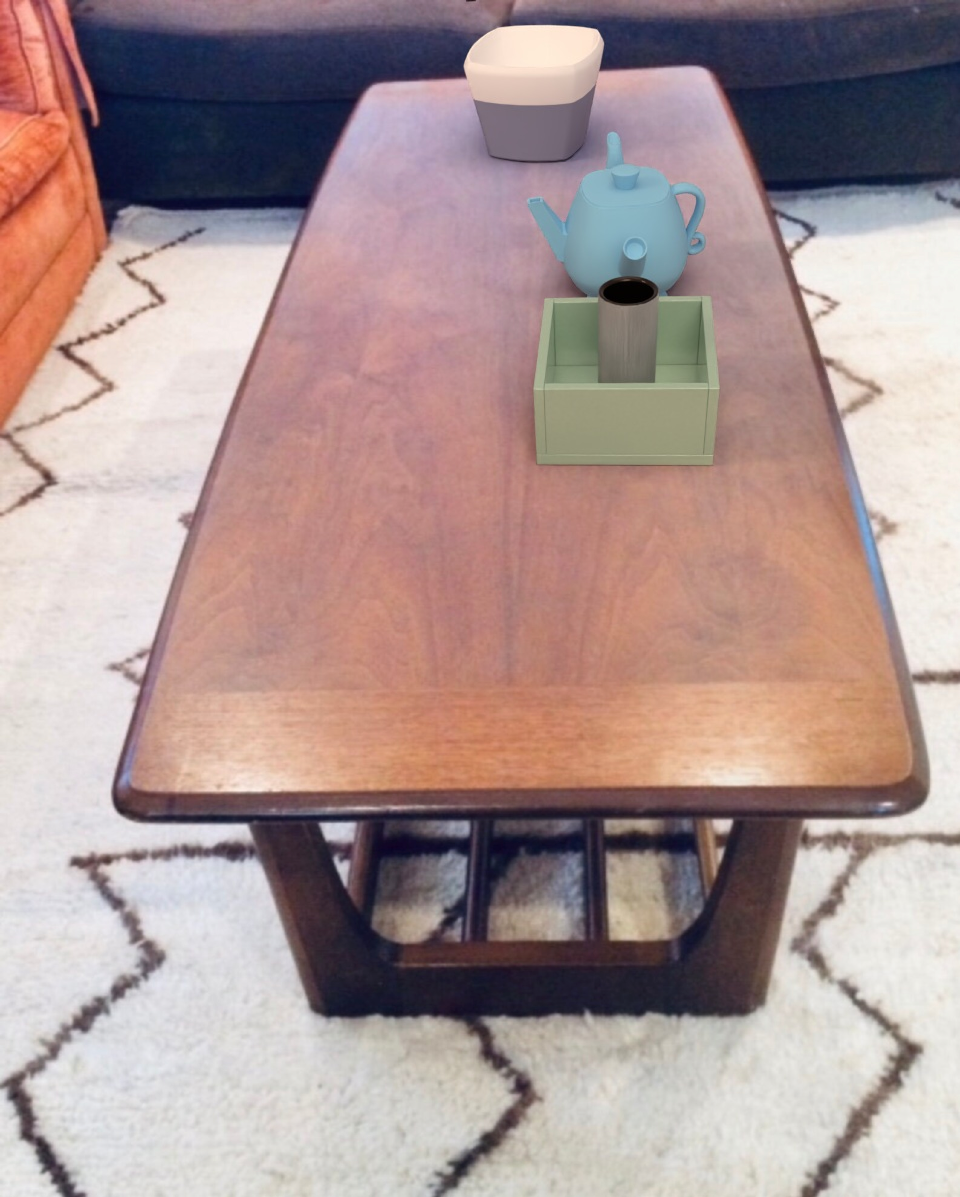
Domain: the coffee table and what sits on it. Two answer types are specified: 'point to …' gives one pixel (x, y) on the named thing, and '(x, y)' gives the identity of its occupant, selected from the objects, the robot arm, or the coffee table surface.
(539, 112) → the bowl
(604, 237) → the teapot
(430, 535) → the coffee table surface
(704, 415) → the green open box
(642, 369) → the grey hollow cylinder
